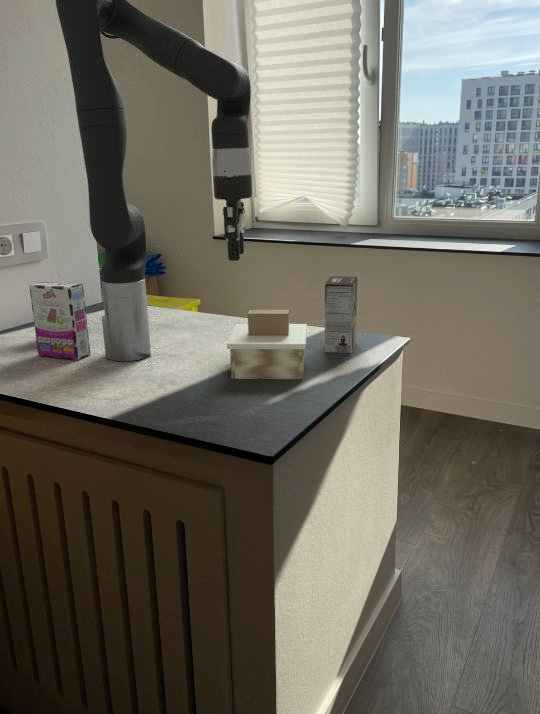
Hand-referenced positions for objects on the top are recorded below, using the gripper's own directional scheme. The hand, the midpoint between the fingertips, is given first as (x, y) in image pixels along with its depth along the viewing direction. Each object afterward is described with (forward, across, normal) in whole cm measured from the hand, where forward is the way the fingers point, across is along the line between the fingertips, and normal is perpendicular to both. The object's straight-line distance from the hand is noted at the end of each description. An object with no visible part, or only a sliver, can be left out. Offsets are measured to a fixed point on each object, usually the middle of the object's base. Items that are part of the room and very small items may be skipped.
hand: (236, 257), depth 129 cm
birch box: (+23, +4, +6) cm, 24 cm away
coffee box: (+23, -11, +21) cm, 33 cm away
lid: (+16, +4, +6) cm, 18 cm away
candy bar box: (+22, -7, -41) cm, 47 cm away
